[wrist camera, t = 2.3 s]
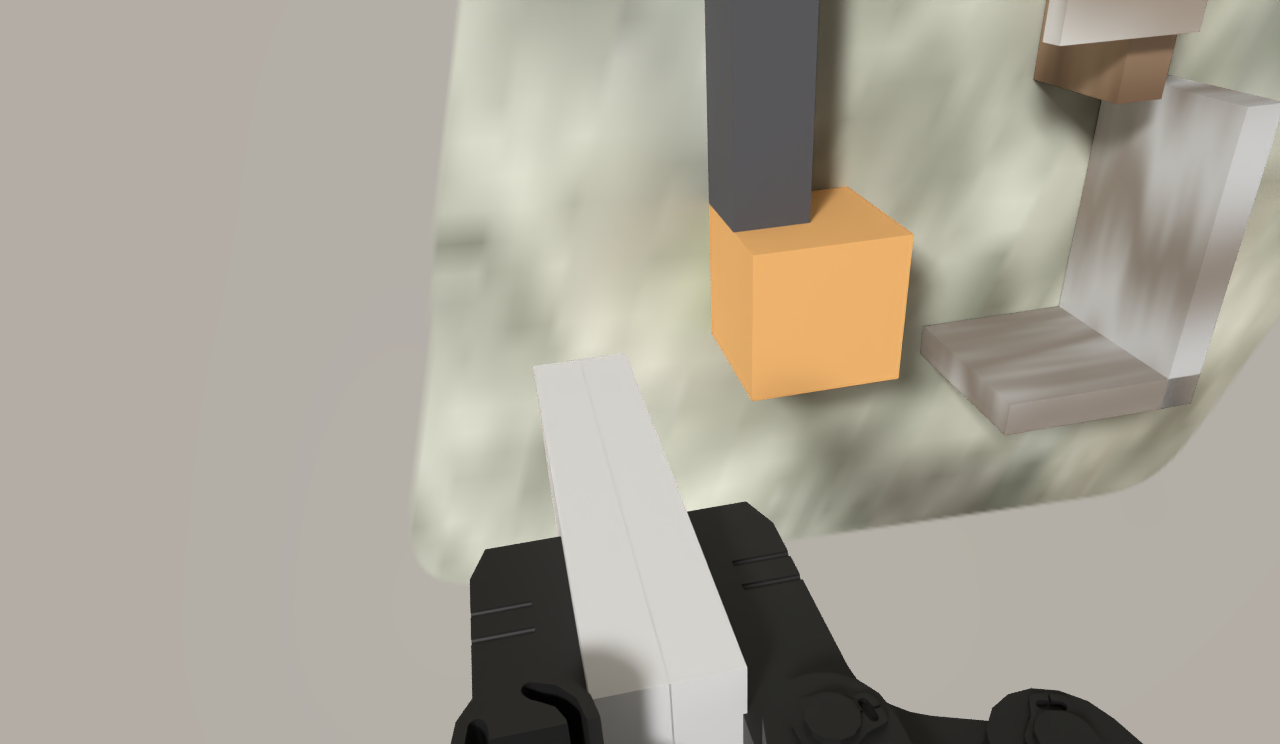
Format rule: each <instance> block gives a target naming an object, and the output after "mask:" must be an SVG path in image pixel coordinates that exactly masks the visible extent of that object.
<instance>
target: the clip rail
mask: <svg viewBox="0 0 1280 744" xmlns="http://www.w3.org/2000/svg"><path fill="white" fill-rule="evenodd" d="M1207 1H1208V0H1047V1H1046V7H1045V13H1044V19H1043V25H1042V31H1041V37H1040V43H1039V49H1038V55H1037V61H1036V67H1035V73H1034V80H1037V81H1041V82H1044V83H1047V84H1051V85H1054V86H1057V87H1061V88H1064V89H1067V90H1071V91H1074V92H1077V93H1081V94H1084V95H1087V96H1091V97H1094V98H1097V99H1101V100H1102V101H1101V106H1100V111H1099V116H1098V120H1097V125H1096V130H1095V135H1094V140H1093V145H1092V149H1091V154H1090V159H1089V164H1088V169H1087V174H1086V178H1085V183H1084V188H1083V193H1082V198H1081V203H1080V207H1079V212H1078V217H1077V222H1076V227H1075V232H1074V236H1073V241H1072V246H1071V251H1070V256H1069V261H1068V265H1067V270H1066V275H1065V280H1064V285H1063V290H1062V294H1061V299H1060V304H1059V306H1058V307H1051V308H1044V309H1037V310H1031V311H1024V312H1017V313H1010V314H1004V315H997V316H990V317H983V318H976V319H970V320H963V321H956V322H949V323H943V324H936V325H929V326H923V334H922V342H921V351H920V354H921V355H923V356H924V357H925V358H926V359H927V360H928V361H929V362H930V363H931V364H932V365H933V366H934V367H935V368H936V369H937V370H938V371H939V372H940V373H941V374H942V375H943V376H944V377H945V378H946V379H947V380H948V381H949V382H950V383H951V384H952V385H954V386H955V387H956V388H957V389H958V390H959V391H960V392H961V393H962V394H963V395H964V396H965V397H966V398H967V399H968V400H969V401H970V402H971V403H972V404H973V405H974V406H975V407H976V408H977V409H978V410H979V411H980V412H981V413H982V414H984V415H985V416H986V417H987V418H988V419H989V420H990V421H991V422H992V423H993V424H994V425H995V426H996V427H997V428H998V429H999V430H1000V431H1001V432H1002V433H1003V434H1004V435H1009V434H1015V433H1020V432H1026V431H1032V430H1038V429H1044V428H1050V427H1056V426H1062V425H1068V424H1074V423H1080V422H1086V421H1092V420H1098V419H1104V418H1109V417H1115V416H1121V415H1127V414H1133V413H1139V412H1145V411H1151V410H1157V409H1163V408H1169V407H1175V406H1181V405H1187V404H1191V401H1192V398H1193V395H1194V392H1195V388H1196V385H1197V382H1198V379H1199V376H1200V373H1201V369H1202V366H1203V363H1204V360H1205V357H1206V353H1207V350H1208V347H1209V344H1210V341H1211V337H1212V334H1213V331H1214V328H1215V325H1216V321H1217V318H1218V315H1219V312H1220V309H1221V305H1222V302H1223V299H1224V296H1225V293H1226V290H1227V286H1228V283H1229V280H1230V277H1231V274H1232V270H1233V267H1234V264H1235V261H1236V258H1237V254H1238V251H1239V248H1240V245H1241V242H1242V238H1243V235H1244V232H1245V229H1246V226H1247V222H1248V219H1249V216H1250V213H1251V210H1252V207H1253V203H1254V200H1255V197H1256V194H1257V191H1258V187H1259V184H1260V181H1261V178H1262V175H1263V171H1264V168H1265V165H1266V162H1267V159H1268V155H1269V152H1270V149H1271V146H1272V143H1273V139H1274V136H1275V133H1276V130H1277V127H1278V123H1279V120H1280V101H1276V100H1272V99H1267V98H1263V97H1259V96H1255V95H1251V94H1246V93H1242V92H1238V91H1234V90H1230V89H1225V88H1221V87H1217V86H1213V85H1208V84H1204V83H1200V82H1196V81H1192V80H1187V79H1183V78H1179V77H1175V76H1171V75H1167V74H1168V70H1169V66H1170V62H1171V58H1172V54H1173V49H1174V45H1175V41H1176V37H1177V34H1182V33H1192V32H1200V28H1201V24H1202V20H1203V17H1204V13H1205V9H1206V5H1207Z"/></svg>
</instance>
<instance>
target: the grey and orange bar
mask: <svg viewBox="0 0 1280 744" xmlns="http://www.w3.org/2000/svg"><path fill="white" fill-rule="evenodd" d="M818 17H819V0H705V35H706V82H707V128H708V175H709V222H710V269H711V316H712V334H713V336H714V338H715V340H716V341H717V343H718V345H719V346H720V348H721V350H722V351H723V353H724V355H725V356H726V358H727V360H728V361H729V363H730V365H731V367H732V368H733V370H734V372H735V373H736V375H737V377H738V378H739V380H740V382H741V383H742V385H743V387H744V389H745V390H746V392H747V394H748V395H749V397H750V399H751V400H752V401H757V400H763V399H770V398H776V397H783V396H789V395H796V394H802V393H809V392H815V391H821V390H828V389H834V388H841V387H847V386H854V385H860V384H866V383H873V382H879V381H886V380H892V379H898V378H899V369H900V359H901V350H902V340H903V331H904V322H905V312H906V303H907V294H908V284H909V275H910V265H911V256H912V247H913V237H914V234H912V233H911V232H910V231H908V230H907V229H906V228H904V227H903V226H901V225H900V224H899V223H897V222H896V221H894V220H893V219H892V218H890V217H889V216H888V215H886V214H885V213H883V212H882V211H881V210H879V209H878V208H876V207H875V206H874V205H872V204H871V203H870V202H868V201H867V200H865V199H864V198H863V197H861V196H860V195H858V194H857V193H856V192H854V191H853V190H852V189H850V188H849V187H840V188H832V189H823V190H815V191H811V187H812V162H813V138H814V114H815V90H816V65H817V41H818Z"/></svg>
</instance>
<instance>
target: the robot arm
mask: <svg viewBox="0 0 1280 744" xmlns="http://www.w3.org/2000/svg"><path fill="white" fill-rule="evenodd" d="M533 369H534V376H535V383H536V390H537V397H538V403H539V410H540V417H541V424H542V431H543V438H544V445H545V452H546V459H547V466H548V473H549V480H550V487H551V494H552V501H553V507H554V513H555V519H556V525H557V531H558V537H554V538H548V539H543V540H537V541H531V542H526V543H520V544H514V545H508V546H503V547H497V548H491V549H486V550H485V551H484V553H483V555H482V557H481V559H480V561H479V563H478V565H477V567H476V569H475V571H474V573H473V575H472V577H471V579H470V608H471V640H472V646H471V653H472V654H471V655H472V700H471V701H470V703H469V704H468V706H467V707H466V708H465V710H464V711H463V713H462V714H461V716H460V717H459V719H458V720H457V721H456V723H455V728H454V732H453V737H452V741H451V744H1142V743H1141V742H1140V741H1139V740H1138V739H1137V738H1136V737H1134V736H1133V735H1132V734H1131V733H1130V732H1129V731H1128V730H1126V729H1125V728H1124V727H1123V726H1122V725H1121V724H1119V723H1118V722H1117V721H1116V720H1115V719H1114V718H1112V717H1111V716H1109V715H1108V714H1106V713H1105V712H1103V711H1102V710H1100V709H1099V708H1097V707H1096V706H1094V705H1093V704H1091V703H1090V702H1088V701H1086V700H1083V699H1081V698H1078V697H1075V696H1072V695H1069V694H1067V693H1064V692H1061V691H1056V690H1044V689H1032V688H1031V689H1027V690H1023V691H1019V692H1015V693H1011V694H1008V695H1007V696H1006V697H1004V698H1003V699H1002V700H1001V701H1000V702H999V703H998V704H996V705H995V706H994V707H993V708H992V711H991V714H990V718H989V721H983V720H972V719H959V718H949V717H938V716H929V715H924V714H918V713H913V712H909V711H906V710H904V709H901V708H898V707H896V706H893V705H891V704H889V703H887V702H886V701H885V700H884V699H883V697H882V696H881V695H880V694H879V693H878V692H876V691H875V690H873V689H872V688H870V687H868V686H867V685H865V684H864V683H862V682H860V681H859V680H857V679H856V677H855V676H854V675H853V673H852V672H851V670H850V669H849V667H848V666H847V664H846V662H845V660H844V658H843V656H842V654H841V652H840V650H839V648H838V646H837V645H836V643H835V641H834V639H833V637H832V635H831V633H830V631H829V629H828V627H827V625H826V624H825V622H824V620H823V618H822V616H821V614H820V612H819V610H818V608H817V606H816V605H815V602H814V600H813V598H812V597H811V595H810V593H809V591H808V589H807V587H806V585H805V583H804V581H803V580H801V579H800V574H799V572H798V570H797V568H796V566H795V564H794V562H793V560H792V558H791V557H790V556H788V551H787V549H786V547H785V545H784V543H783V541H782V539H781V537H780V535H779V533H778V531H777V529H776V527H775V526H774V524H773V522H771V521H770V520H769V519H768V518H766V517H765V516H764V515H762V514H761V513H760V512H759V511H757V510H756V509H755V508H754V507H752V506H751V505H750V504H748V503H747V502H740V503H734V504H729V505H723V506H717V507H711V508H706V509H700V510H694V511H689V512H687V511H686V508H685V506H684V503H683V500H682V498H681V495H680V493H679V490H678V487H677V485H676V482H675V480H674V477H673V475H672V472H671V469H670V467H669V464H668V462H667V459H666V456H665V454H664V451H663V449H662V446H661V444H660V441H659V438H658V436H657V433H656V431H655V428H654V425H653V423H652V420H651V418H650V415H649V412H648V410H647V407H646V405H645V402H644V400H643V397H642V394H641V392H640V389H639V387H638V384H637V381H636V379H635V376H634V374H633V371H632V369H631V366H630V363H629V361H628V358H627V356H626V353H621V354H614V355H607V356H600V357H594V358H587V359H580V360H573V361H566V362H559V363H553V364H546V365H539V366H533Z"/></svg>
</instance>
